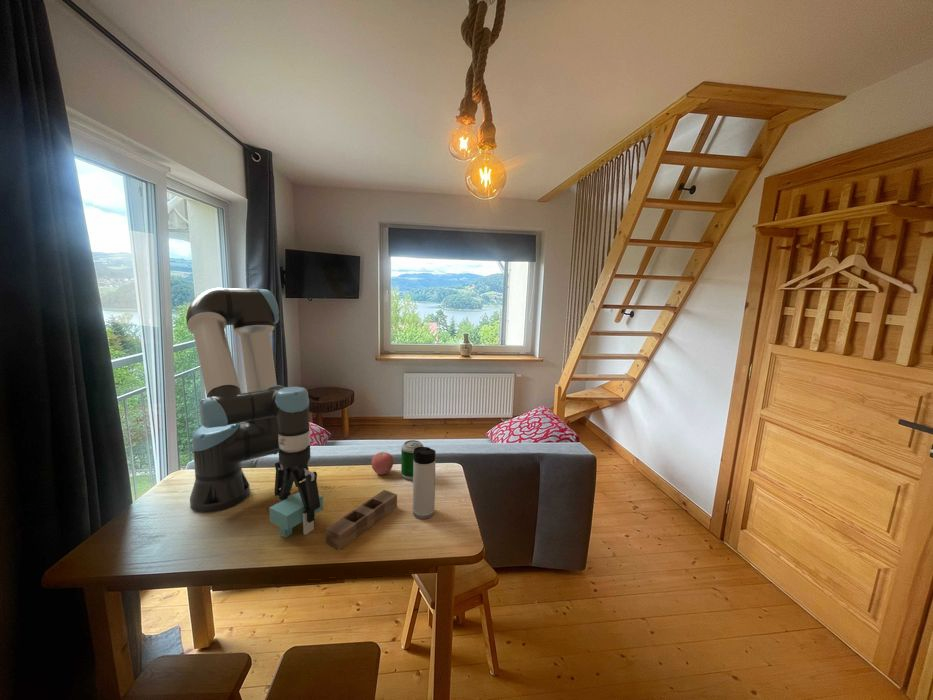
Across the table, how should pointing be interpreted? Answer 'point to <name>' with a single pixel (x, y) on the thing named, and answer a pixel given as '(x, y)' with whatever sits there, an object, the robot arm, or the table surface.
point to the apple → (382, 463)
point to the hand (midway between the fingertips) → (297, 526)
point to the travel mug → (424, 482)
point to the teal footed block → (289, 513)
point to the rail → (360, 519)
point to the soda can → (408, 458)
